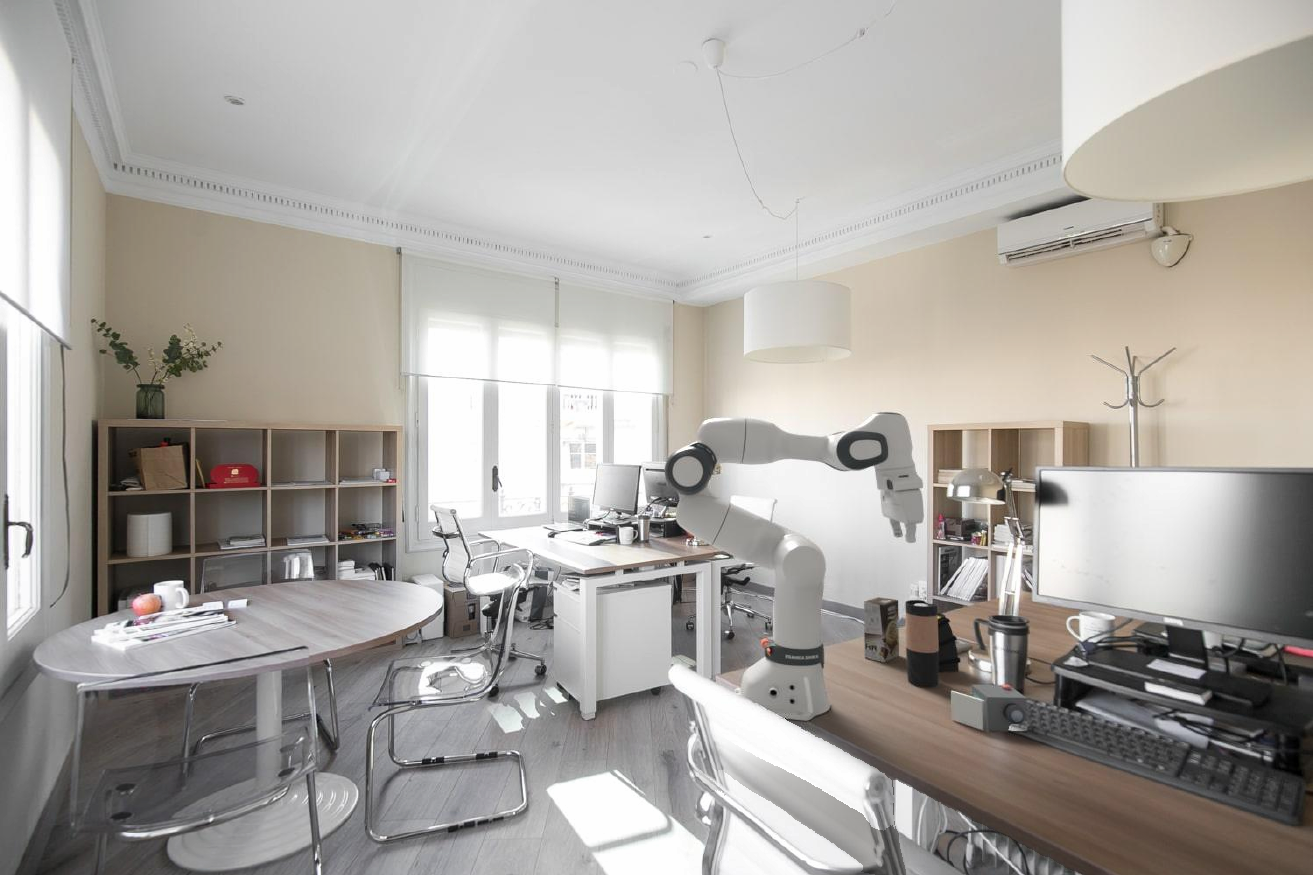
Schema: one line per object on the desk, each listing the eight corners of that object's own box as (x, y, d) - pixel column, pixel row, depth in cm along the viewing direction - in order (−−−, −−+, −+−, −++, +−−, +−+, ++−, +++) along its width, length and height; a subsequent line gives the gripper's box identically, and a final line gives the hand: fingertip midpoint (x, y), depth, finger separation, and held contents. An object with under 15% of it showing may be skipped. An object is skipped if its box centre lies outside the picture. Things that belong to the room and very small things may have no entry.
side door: (986, 731, 125) (985, 701, 125) (951, 719, 131) (950, 691, 131) (987, 730, 126) (987, 700, 126) (953, 718, 131) (952, 690, 132)
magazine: (971, 665, 161) (947, 614, 161) (929, 688, 160) (904, 637, 160) (963, 660, 165) (939, 611, 165) (921, 683, 164) (898, 633, 164)
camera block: (992, 735, 124) (991, 697, 124) (972, 716, 133) (971, 681, 133) (1033, 736, 123) (1032, 698, 124) (1009, 717, 132) (1009, 682, 133)
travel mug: (910, 687, 150) (908, 606, 151) (903, 676, 158) (902, 599, 159) (943, 689, 149) (941, 607, 150) (934, 678, 156) (933, 600, 157)
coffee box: (885, 663, 168) (884, 604, 169) (863, 657, 173) (862, 601, 174) (900, 656, 174) (899, 599, 175) (879, 650, 179) (878, 596, 180)
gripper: (871, 480, 152) (878, 535, 151) (895, 483, 131) (904, 547, 131) (896, 477, 151) (904, 532, 150) (925, 480, 131) (934, 544, 130)
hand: (904, 539), depth 140 cm, fingers open, 8 cm apart
